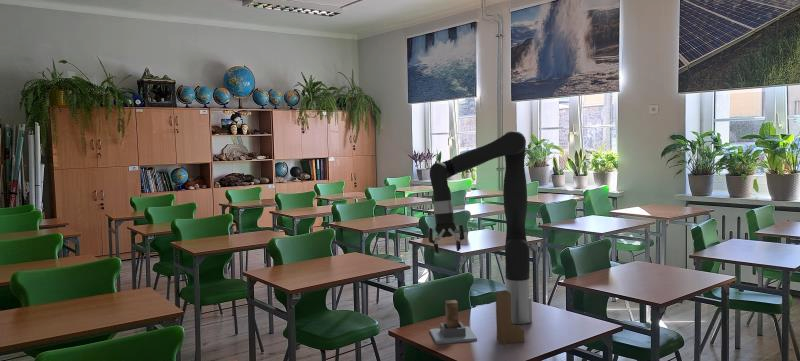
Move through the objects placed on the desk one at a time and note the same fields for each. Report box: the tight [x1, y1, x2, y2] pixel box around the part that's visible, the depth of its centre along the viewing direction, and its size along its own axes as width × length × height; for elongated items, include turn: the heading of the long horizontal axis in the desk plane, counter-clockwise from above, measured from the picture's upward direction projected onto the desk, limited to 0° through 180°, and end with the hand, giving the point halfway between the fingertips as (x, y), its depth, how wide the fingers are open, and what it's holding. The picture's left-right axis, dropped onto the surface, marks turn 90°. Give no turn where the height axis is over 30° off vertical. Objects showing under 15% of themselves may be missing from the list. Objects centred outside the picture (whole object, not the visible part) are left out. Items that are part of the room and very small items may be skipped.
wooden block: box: [495, 290, 525, 345], centre depth 211 cm, size 9×4×18 cm, turn 97°
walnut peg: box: [444, 299, 459, 329], centre depth 219 cm, size 4×4×12 cm
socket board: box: [429, 321, 478, 345], centre depth 220 cm, size 15×14×4 cm
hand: (447, 252), depth 238 cm, fingers open, 8 cm apart
